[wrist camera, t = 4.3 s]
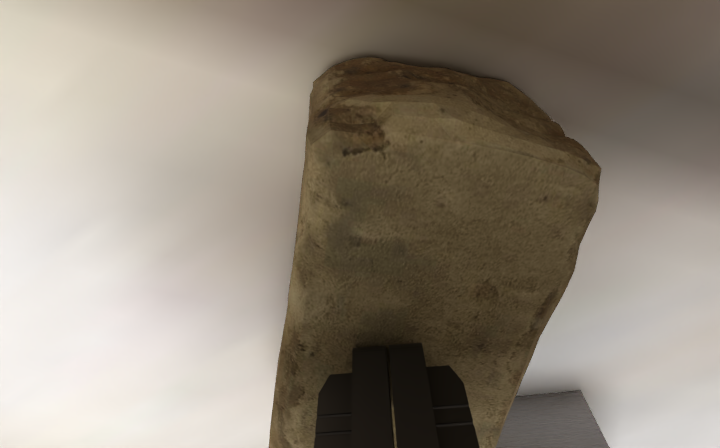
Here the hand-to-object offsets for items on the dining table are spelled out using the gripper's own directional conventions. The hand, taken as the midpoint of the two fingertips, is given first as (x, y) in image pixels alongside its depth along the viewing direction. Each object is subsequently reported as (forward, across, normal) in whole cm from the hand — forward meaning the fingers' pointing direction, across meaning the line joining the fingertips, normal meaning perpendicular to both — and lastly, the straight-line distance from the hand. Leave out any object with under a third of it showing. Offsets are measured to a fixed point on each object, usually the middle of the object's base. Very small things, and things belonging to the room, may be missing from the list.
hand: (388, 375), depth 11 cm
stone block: (+5, 0, 0) cm, 5 cm away
